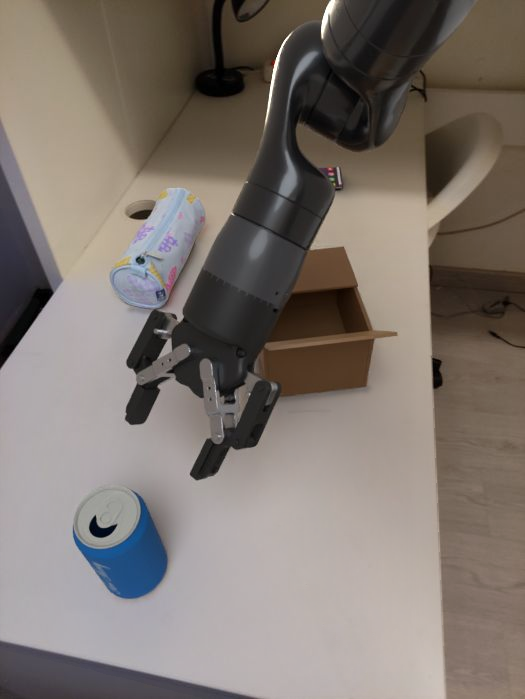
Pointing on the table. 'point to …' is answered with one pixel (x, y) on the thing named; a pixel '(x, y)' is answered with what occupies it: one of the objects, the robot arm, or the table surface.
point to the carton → (321, 329)
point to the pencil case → (159, 250)
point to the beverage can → (120, 541)
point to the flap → (328, 339)
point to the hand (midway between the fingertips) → (165, 448)
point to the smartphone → (334, 176)
